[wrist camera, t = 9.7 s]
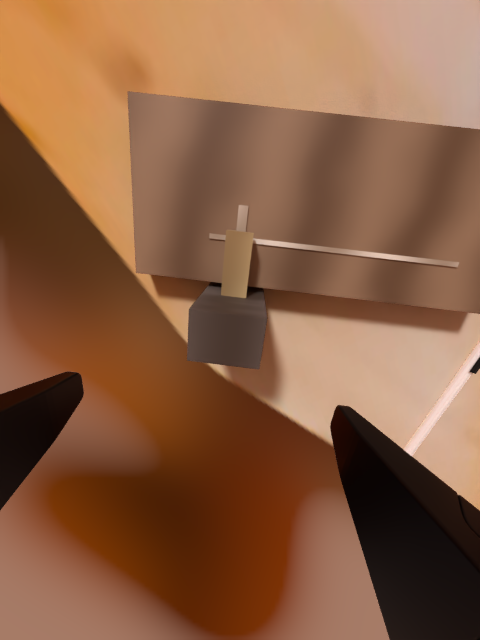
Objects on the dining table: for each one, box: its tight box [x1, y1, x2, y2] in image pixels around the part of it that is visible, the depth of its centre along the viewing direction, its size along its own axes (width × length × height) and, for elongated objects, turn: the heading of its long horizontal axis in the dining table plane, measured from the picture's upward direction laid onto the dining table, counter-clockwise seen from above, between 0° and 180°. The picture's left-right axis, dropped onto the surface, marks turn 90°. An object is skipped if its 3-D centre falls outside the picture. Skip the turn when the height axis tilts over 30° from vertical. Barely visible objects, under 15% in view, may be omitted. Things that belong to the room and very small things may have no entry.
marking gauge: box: [187, 230, 267, 369], centre depth 15 cm, size 4×7×7 cm, turn 174°
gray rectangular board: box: [128, 91, 480, 314], centre depth 16 cm, size 24×10×2 cm, turn 84°
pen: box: [403, 340, 480, 456], centre depth 21 cm, size 1×19×1 cm, turn 165°
